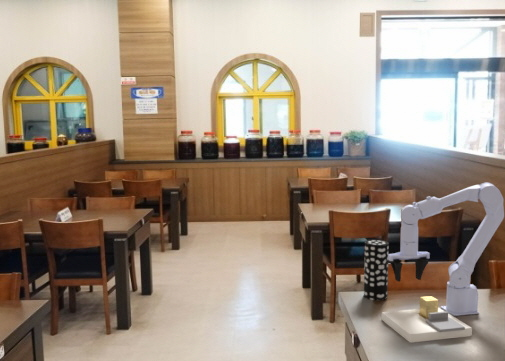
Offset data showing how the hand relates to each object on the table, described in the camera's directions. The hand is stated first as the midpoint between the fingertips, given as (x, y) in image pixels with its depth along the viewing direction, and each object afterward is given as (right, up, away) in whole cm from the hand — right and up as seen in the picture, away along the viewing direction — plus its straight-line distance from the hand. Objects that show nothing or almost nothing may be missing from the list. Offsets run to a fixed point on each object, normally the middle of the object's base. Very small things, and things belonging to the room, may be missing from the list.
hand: (408, 279), depth 182 cm
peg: (+2, -11, -14) cm, 18 cm away
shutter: (+4, -9, -23) cm, 25 cm away
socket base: (0, -12, -17) cm, 21 cm away
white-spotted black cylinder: (-9, -8, +11) cm, 16 cm away
